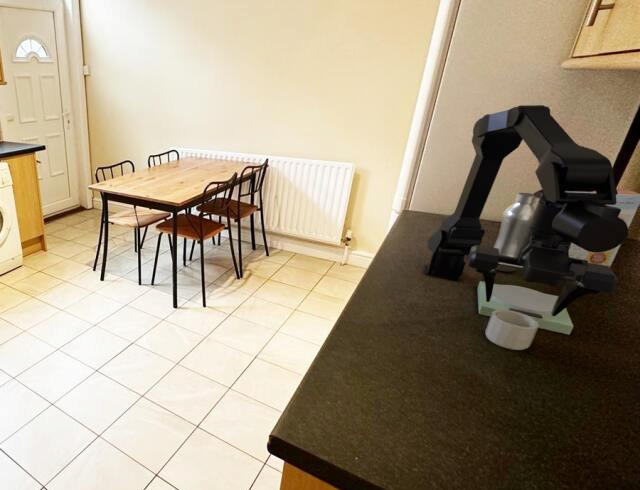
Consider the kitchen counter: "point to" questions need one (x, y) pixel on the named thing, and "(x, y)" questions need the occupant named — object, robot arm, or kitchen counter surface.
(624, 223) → the robot arm
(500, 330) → the bowl
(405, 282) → the kitchen counter surface
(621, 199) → the cracker box
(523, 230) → the silver metal bottle
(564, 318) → the scale
